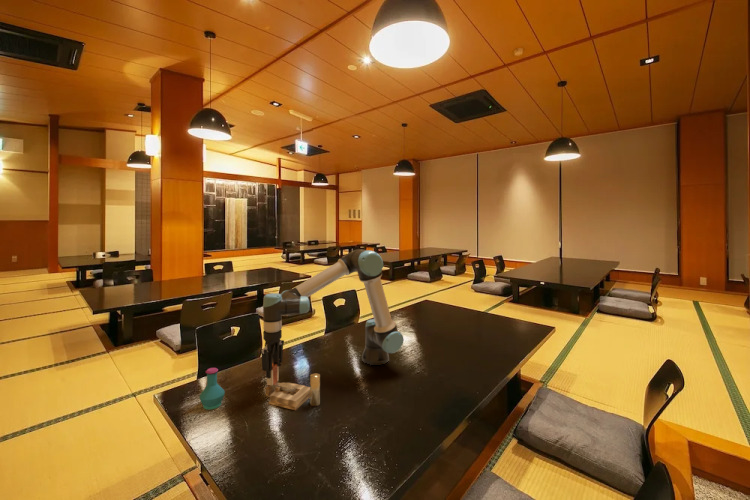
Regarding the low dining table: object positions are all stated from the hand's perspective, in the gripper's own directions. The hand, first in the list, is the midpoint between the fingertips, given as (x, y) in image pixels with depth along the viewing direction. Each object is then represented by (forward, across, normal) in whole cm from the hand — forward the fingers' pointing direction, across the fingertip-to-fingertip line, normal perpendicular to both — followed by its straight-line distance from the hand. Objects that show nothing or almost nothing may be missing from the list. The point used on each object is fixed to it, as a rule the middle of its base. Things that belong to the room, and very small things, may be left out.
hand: (272, 382), depth 141 cm
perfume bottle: (+6, +16, -18) cm, 24 cm away
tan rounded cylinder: (+6, -1, +21) cm, 21 cm away
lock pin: (+2, 0, +5) cm, 5 cm away
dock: (+6, 0, +7) cm, 9 cm away
